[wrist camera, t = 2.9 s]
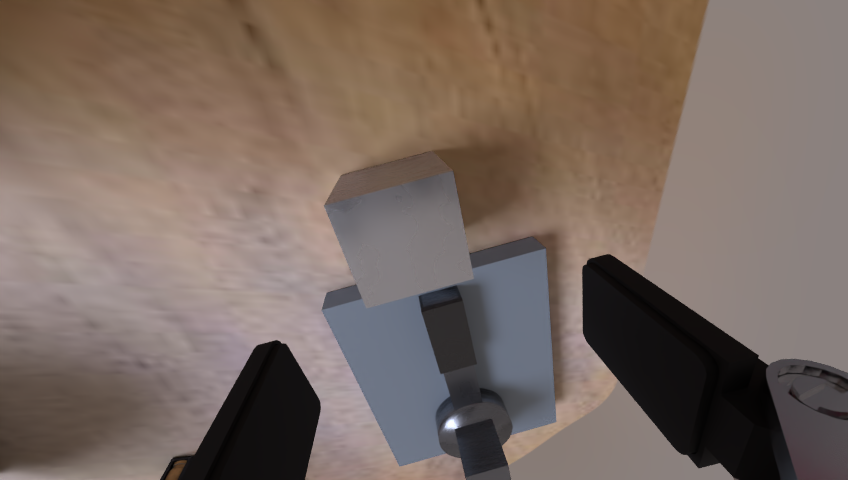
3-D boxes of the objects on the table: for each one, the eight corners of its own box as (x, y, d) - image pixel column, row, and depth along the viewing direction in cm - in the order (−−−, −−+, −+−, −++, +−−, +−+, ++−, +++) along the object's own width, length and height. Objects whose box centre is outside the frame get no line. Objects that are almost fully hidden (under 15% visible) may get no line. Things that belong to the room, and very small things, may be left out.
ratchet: (393, 302, 21) (397, 365, 16) (481, 278, 21) (512, 333, 16) (443, 442, 28) (456, 514, 23) (507, 424, 28) (534, 492, 24)
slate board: (326, 293, 22) (321, 309, 20) (532, 236, 22) (545, 248, 21) (398, 445, 31) (399, 466, 29) (546, 403, 31) (556, 422, 29)
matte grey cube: (340, 175, 19) (324, 205, 13) (432, 150, 19) (453, 170, 13) (370, 256, 21) (366, 308, 16) (450, 234, 21) (474, 278, 16)
